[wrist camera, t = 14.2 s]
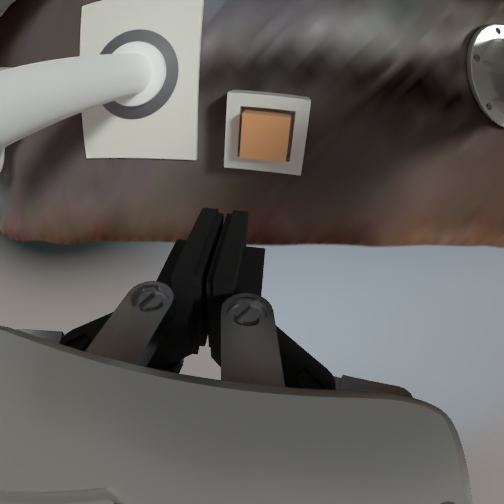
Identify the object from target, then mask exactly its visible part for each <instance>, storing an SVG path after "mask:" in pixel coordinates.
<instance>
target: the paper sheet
mask: <svg viewBox="0 0 504 504" xmlns="http://www.w3.org/2000/svg"><path fill="white" fill-rule="evenodd" d="M203 7H204V0H102V1H98V2H95V3H91V4H88V5H84V6H82V14H81V30H80V56H89V55H102V54H112V53H113V52H114V51H115V50H116V49H117V48H119V47H120V46H122V45H124V44H126V43H129V42H135V41H140V42H146V43H149V44H151V45H153V46H155V47H156V48H157V49H158V50H159V51H160V52H161V54H162V55H163V57H164V59H165V63H166V78H165V82H164V84H163V86H162V88H161V90H160V91H159V93H158V94H157V95H156V96H155V97H154V98H153V99H151V100H150V101H148V102H147V103H144V104H142V105H139V106H124V105H121V104H119V103H117V102H115V101H112V102H109V103H106V104H103V105H100V106H97V107H94V108H92V109H89V110H86V111H84V112H82V123H83V134H84V143H85V152H86V158H155V159H181V160H197V134H198V93H199V68H200V49H201V33H202V19H203Z"/></svg>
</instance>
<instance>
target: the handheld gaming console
mask: <svg viewBox="0 0 504 504" xmlns="http://www.w3.org/2000/svg"><path fill="white" fill-rule="evenodd" d="M15 1H16V0H0V17H1V16H2V15H3V13H4V12H5V11H6V10H7V8H8V7H9V6H10V5H11V4H12V3H13V2H15Z"/></svg>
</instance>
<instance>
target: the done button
mask: <svg viewBox="0 0 504 504" xmlns="http://www.w3.org/2000/svg"><path fill="white" fill-rule="evenodd" d="M290 123H291V114H283V113H274V112H264V111H253V110H245V111H244V112H243V113H242V127H241V143H240V158H249V159H259V160H269V161H278V162H286V156H287V148H288V140H289V131H290Z"/></svg>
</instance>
